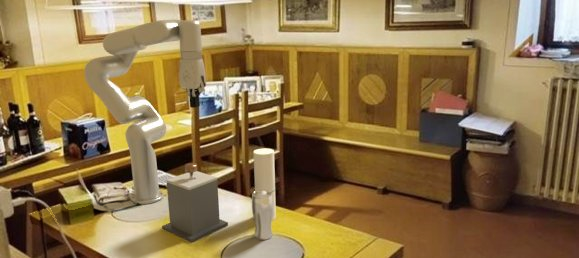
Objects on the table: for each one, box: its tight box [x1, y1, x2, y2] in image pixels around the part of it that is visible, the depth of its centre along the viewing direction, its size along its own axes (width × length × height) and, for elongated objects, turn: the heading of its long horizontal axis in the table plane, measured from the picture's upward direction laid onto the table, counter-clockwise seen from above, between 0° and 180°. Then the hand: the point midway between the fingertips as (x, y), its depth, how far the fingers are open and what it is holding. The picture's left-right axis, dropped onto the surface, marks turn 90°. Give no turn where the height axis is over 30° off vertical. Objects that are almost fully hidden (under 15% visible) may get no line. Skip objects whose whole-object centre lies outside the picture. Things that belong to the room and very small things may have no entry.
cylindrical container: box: [253, 147, 277, 221], centre depth 169 cm, size 7×7×25 cm
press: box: [161, 170, 229, 244], centre depth 164 cm, size 16×17×18 cm
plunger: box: [184, 162, 198, 180], centre depth 162 cm, size 9×9×17 cm
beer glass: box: [251, 190, 273, 241], centre depth 157 cm, size 7×7×15 cm
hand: (195, 106), depth 173 cm, fingers closed
